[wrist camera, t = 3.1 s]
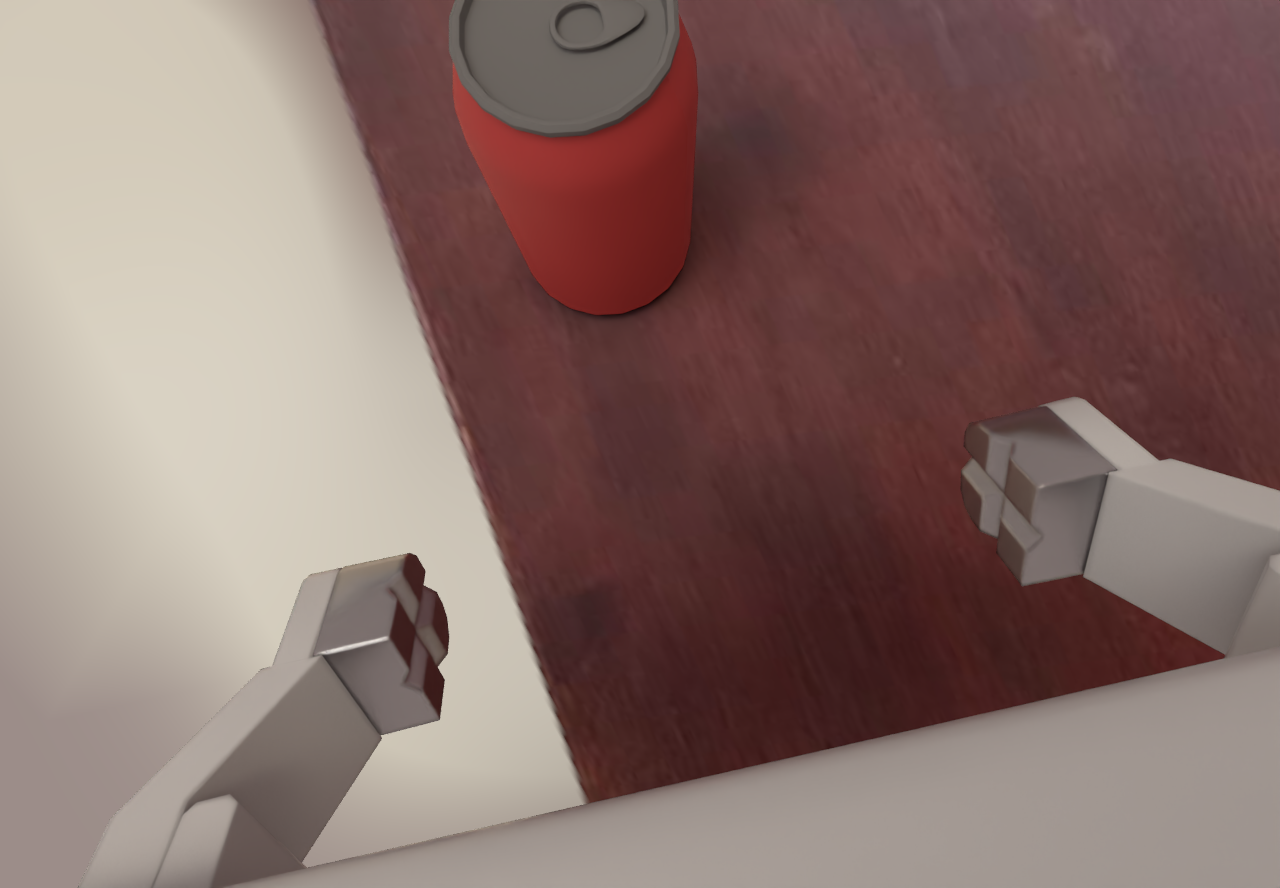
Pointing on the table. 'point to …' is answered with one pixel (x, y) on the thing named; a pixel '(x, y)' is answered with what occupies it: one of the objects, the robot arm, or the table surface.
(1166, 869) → the robot arm
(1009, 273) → the table surface
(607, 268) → the beer can
